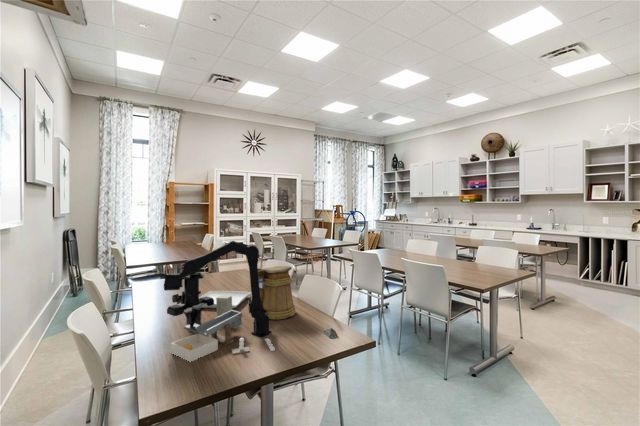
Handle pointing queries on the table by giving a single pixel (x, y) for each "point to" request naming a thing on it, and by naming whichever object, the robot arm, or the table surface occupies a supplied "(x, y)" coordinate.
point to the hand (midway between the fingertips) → (191, 325)
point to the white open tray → (194, 347)
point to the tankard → (276, 292)
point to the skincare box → (223, 304)
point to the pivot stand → (223, 339)
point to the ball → (188, 346)
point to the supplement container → (198, 320)
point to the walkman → (261, 283)
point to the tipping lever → (217, 323)
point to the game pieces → (242, 349)
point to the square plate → (236, 295)
